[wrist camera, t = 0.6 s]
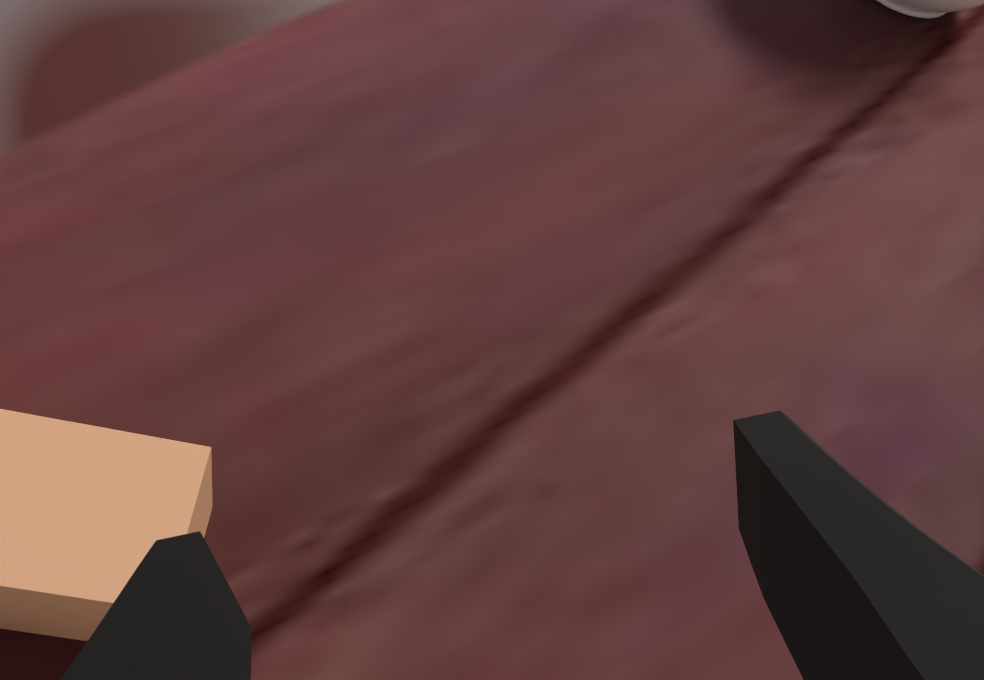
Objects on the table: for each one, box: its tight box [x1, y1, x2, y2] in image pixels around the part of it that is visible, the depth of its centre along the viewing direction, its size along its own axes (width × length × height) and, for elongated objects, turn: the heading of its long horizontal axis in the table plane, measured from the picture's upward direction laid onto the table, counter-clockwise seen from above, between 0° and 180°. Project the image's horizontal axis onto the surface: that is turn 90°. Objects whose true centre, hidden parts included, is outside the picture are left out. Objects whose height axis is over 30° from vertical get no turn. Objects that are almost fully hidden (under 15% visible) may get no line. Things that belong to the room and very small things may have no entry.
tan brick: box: [0, 409, 212, 641], centre depth 25 cm, size 4×6×4 cm
